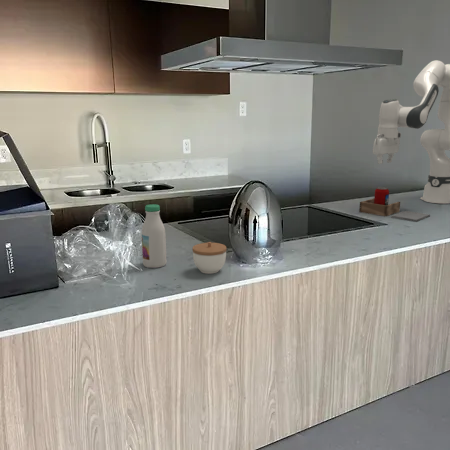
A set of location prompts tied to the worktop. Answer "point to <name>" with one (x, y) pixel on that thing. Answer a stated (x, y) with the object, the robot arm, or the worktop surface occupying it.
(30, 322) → the worktop surface
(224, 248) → the lidded jar
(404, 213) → the rubber mat
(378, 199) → the beverage can
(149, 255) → the milk bottle
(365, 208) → the wooden tray
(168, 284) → the worktop surface
